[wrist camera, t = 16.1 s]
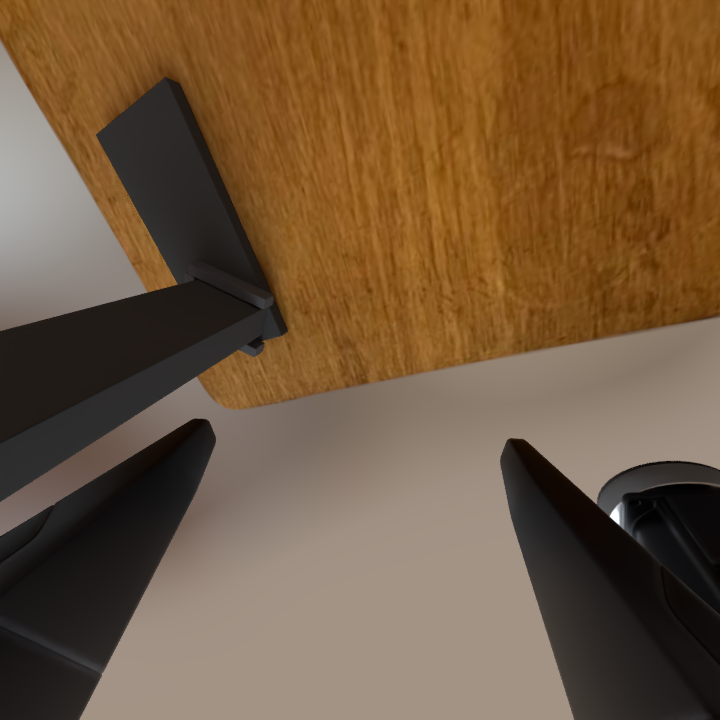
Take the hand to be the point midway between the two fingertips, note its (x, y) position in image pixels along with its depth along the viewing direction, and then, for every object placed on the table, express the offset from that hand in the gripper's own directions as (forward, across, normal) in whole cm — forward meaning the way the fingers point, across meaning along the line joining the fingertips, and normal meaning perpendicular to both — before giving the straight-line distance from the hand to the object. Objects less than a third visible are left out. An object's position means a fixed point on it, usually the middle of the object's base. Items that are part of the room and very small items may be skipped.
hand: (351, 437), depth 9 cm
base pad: (+15, +13, -3) cm, 20 cm away
